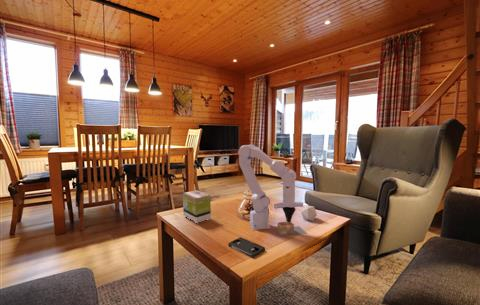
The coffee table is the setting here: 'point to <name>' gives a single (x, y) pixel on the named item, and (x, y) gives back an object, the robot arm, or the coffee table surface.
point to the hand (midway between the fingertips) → (288, 221)
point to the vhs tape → (246, 247)
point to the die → (309, 213)
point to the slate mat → (297, 231)
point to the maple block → (285, 227)
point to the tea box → (197, 206)
